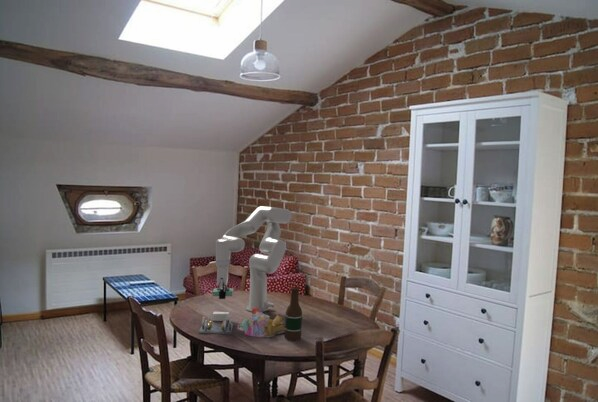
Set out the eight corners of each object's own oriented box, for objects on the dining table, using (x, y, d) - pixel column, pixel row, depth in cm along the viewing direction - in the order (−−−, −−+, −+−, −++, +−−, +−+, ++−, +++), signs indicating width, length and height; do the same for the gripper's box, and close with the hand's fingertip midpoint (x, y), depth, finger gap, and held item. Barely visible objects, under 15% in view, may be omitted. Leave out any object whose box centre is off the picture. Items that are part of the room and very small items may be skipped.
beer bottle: (284, 335, 214) (286, 285, 213) (300, 335, 215) (302, 285, 214) (285, 341, 206) (287, 289, 205) (301, 341, 207) (304, 289, 206)
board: (233, 292, 236) (233, 287, 236) (232, 296, 230) (232, 290, 230) (214, 292, 236) (214, 287, 236) (212, 296, 230) (212, 290, 230)
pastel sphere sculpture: (294, 327, 227) (294, 309, 226) (272, 342, 205) (273, 322, 205) (251, 319, 237) (251, 302, 236) (226, 332, 215) (227, 313, 215)
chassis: (233, 325, 224) (233, 314, 224) (230, 334, 212) (231, 321, 212) (203, 324, 224) (203, 313, 223) (198, 333, 212) (199, 320, 211)
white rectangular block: (228, 318, 235) (229, 312, 235) (228, 321, 231) (228, 314, 231) (213, 318, 235) (213, 311, 234) (212, 320, 231) (212, 313, 231)
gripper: (218, 259, 240) (218, 292, 242) (213, 266, 223) (213, 301, 224) (232, 259, 240) (232, 292, 242) (228, 266, 223) (228, 302, 225)
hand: (223, 296), depth 233 cm, fingers closed on board, 6 cm apart
